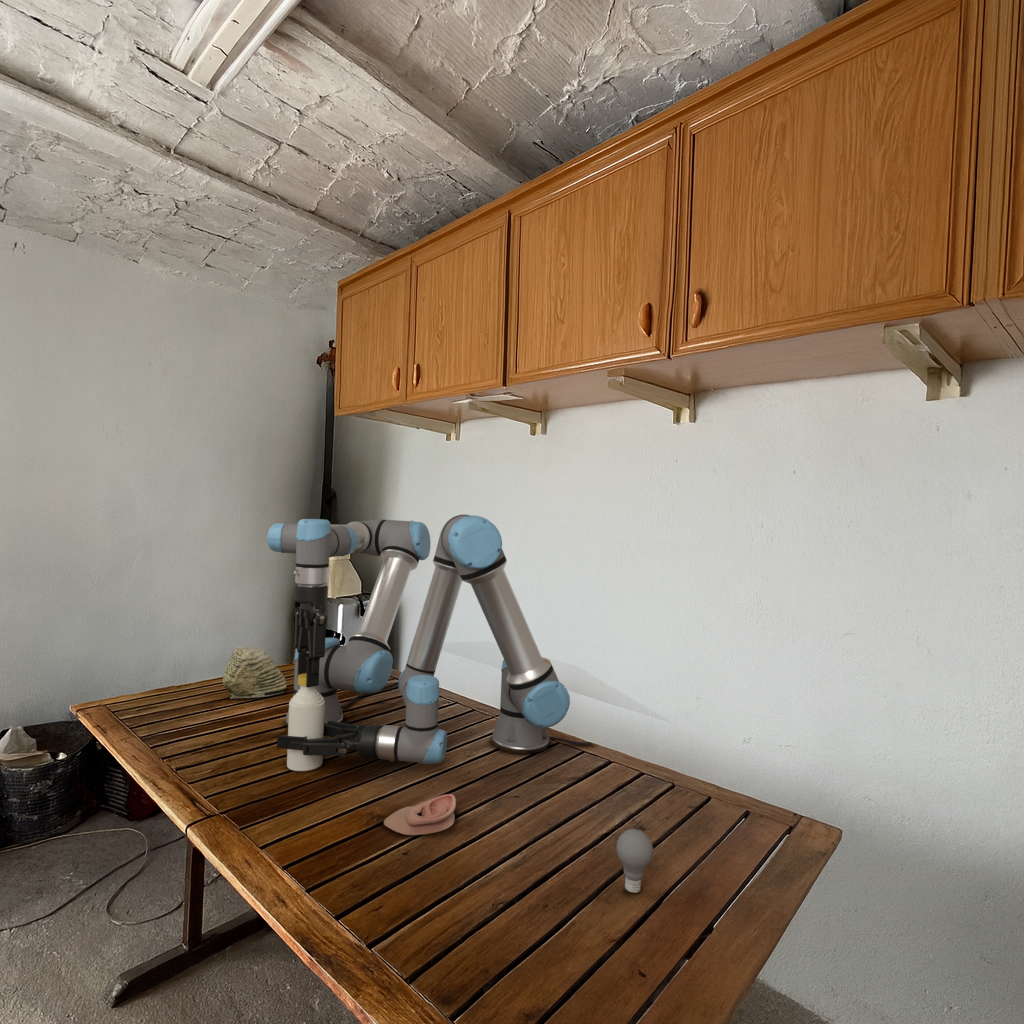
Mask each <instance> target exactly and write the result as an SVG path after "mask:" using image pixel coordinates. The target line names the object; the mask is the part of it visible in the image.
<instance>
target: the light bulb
mask: <svg viewBox="0 0 1024 1024" xmlns="http://www.w3.org/2000/svg"><path fill="white" fill-rule="evenodd" d="M615 849H616V854H617V857H618V859H619V861H620V863H621V865H622V867H623V873H624V874H623V875H624V876H625V878H624V888H625V890H627V891H628V892H630V893H634V894H635V893H639V892H640V891H641V889H642V887H641V886H642V879H643V877H644V875H645V871H646V868H647V867H648V866H649V864H650V863H651V861H652V859H653V855H654V847H653V843H652V841H651V838H649V836H648V835H647V834H646V833H645V832H643V831H642V830H641V829H636V828H629V829H627V830H625V831H623V832H622V833H621V834H620V835H619V837H618V839H617V841H616V847H615Z"/></svg>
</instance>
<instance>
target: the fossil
mask: <svg viewBox="0 0 1024 1024" xmlns="http://www.w3.org/2000/svg"><path fill="white" fill-rule="evenodd" d="M222 676H223V677H222V685H223V687H224V688H225V690H226V691H228V693H229V698H230V699H250V698H264V697H271V696H275V695H281V694H284V693H285V691H286V689H287V687H288V686H287V680H286V678H285V676H284V674H283V673H282V672H281V669H279V668H278V667H277V665H276V663H275V662H274V660H273V659H272V658H271V657H270V656H269V655H268V654H267V653H266V652H265V650H264V649H263V648H260V647H258V648H251V647H247V646H246V647H245V646H238V647H237V648H236V649H235V650H233V651H232V653H231V656H230V657H229V659H228V660H227V663H226V666H225V668H224V671H223V675H222Z"/></svg>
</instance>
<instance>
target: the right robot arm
mask: <svg viewBox="0 0 1024 1024" xmlns="http://www.w3.org/2000/svg"><path fill="white" fill-rule="evenodd" d="M502 538H503V537H502V535H501V533H500V531H499V529H498V527H497V526H496V525H495V524H494V523H493V522H492V521H491V520H489V519H488V518H486V517H484V516H480V515H474V514H473V515H470V514H458V515H455V516H452V517H451V518H449V519H448V520H447V521H446V522H445V524H443V526H442V528H441V530H440V532H439V536H438V541H437V545H436V548H435V552H434V555H433V559H432V563H433V565H434V570H433V572H432V573H433V574H432V577H431V580H430V584H429V587H428V590H427V594H426V597H425V600H424V603H423V607H422V610H421V613H420V617H419V620H418V624H417V626H416V629H415V632H414V633H415V634H414V637H413V640H412V644H411V647H410V651H409V652H408V653H409V654H408V656H407V659H406V664H405V666H404V669H403V671H402V672H400V675H399V677H398V681H397V682H398V685H397V686H398V692H399V693H400V694H401V697H402V699H403V702H404V705H405V722H404V725H405V726H400V725H388V724H384V725H383V726H382V725H381V724H371V723H367V724H356V723H355V724H354V723H348V722H335V721H328V722H327V723H324V737H323V738H318V739H307V736H305V737H296V736H288V735H280V734H278V735H277V736H276V737H277V739H276V748H277V749H283V750H284V749H285V750H287V749H295V750H303V755H323V757H324V756H325V757H326V756H329V757H331V756H334V757H343V758H346V757H347V756H348V753H349V752H359V755H360V757H361V758H362V759H369V760H376V759H379V760H384V761H389V762H390V763H393V762H394V761H396V762H408V763H419V764H423V765H425V764H427V765H431V764H433V765H435V764H441V763H442V762H443V761H444V759H445V757H446V754H447V749H448V734H447V733H448V732H447V731H446V730H444V729H442V728H439V707H440V696H441V692H440V680H439V679H438V678H437V677H435V673H436V670H437V666H438V662H439V659H440V657H441V654H442V649H443V646H444V643H445V640H446V636H447V634H448V629H449V627H450V623H451V619H452V616H453V612H454V611H455V610H454V609H455V606H456V603H457V600H458V597H459V593H460V590H461V586H462V583H467V584H470V586H471V588H472V590H473V593H474V595H475V597H476V599H477V602H478V603H479V606H480V609H481V612H482V613H483V615H484V617H485V620H486V623H487V624H488V626H489V629H490V632H491V634H492V635H493V638H494V640H495V643H496V645H497V647H498V650H499V652H500V654H501V656H502V658H503V660H502V664H501V669H500V670H501V671H500V672H501V679H500V681H501V682H500V706H499V715H498V717H497V720H496V723H495V726H494V728H493V731H492V734H491V744H492V745H493V746H494V747H495V748H496V749H498V750H500V751H503V752H506V753H509V754H516V755H531V754H532V755H533V754H537V753H542V752H544V751H546V750H547V749H548V748H549V747H550V740H552V741H557V742H562V743H566V744H571V745H577V746H592V744H593V743H592V742H591V741H574V740H569V739H566V738H562V737H557V736H551V735H550V733H549V730H548V728H551V727H554V726H556V725H558V724H559V723H560V722H562V720H563V719H564V718H565V717H566V716H567V713H568V712H569V709H570V705H571V697H570V693H569V691H568V689H567V687H566V686H565V685H564V684H563V682H561V681H560V680H559V678H558V676H557V673H556V671H555V669H554V666H553V665H552V662H551V660H550V659H549V658H546V657H543V656H542V655H541V652H540V650H539V648H538V645H537V643H536V641H535V639H534V636H533V634H532V631H531V629H530V626H529V624H528V622H527V619H526V617H525V615H524V613H523V611H522V608H521V606H520V603H519V601H518V599H517V597H516V594H515V592H514V589H513V587H512V585H511V583H510V580H509V578H508V576H507V574H506V571H505V569H506V568H505V567H506V565H507V562H508V560H507V557H506V555H505V552H504V550H503V540H502Z"/></svg>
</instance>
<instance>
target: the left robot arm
mask: <svg viewBox="0 0 1024 1024" xmlns="http://www.w3.org/2000/svg"><path fill="white" fill-rule="evenodd" d="M266 536H267V539H266V542H267V546H268V547H269V550H271V551H273V552H276V553H281V554H295V570H294V571H293V575H294V583H295V584H296V585H295V586H294V591H293V592H294V594H293V600H294V602H296V603H299V604H300V605H299V606H298V607H294V641H293V644H294V645H293V648H294V649H295V652H294V653H295V654H294V659H293V660H294V672H293V696H294V695H296V693H297V692H298V690H300V685H298V675H300V674H303V673H307V675H306V687H313V686H315V689H317V691H318V692H319V694H321V696H323V698H324V700H325V711H324V723H327V722H328V721H335V722H342V723H344V714H343V709H345V708H347V707H349V706H351V704H352V703H353V702H355V701H357V700H359V699H360V698H362V697H365V696H367V695H370V694H376V693H379V692H380V691H381V690H385V689H388V688H389V689H390V688H392V687H394V686H399V685H398V681H397V682H394V683H391V684H388V682H389V680H390V677H391V675H392V672H393V668H394V667H393V664H394V658H393V655H392V653H391V652H390V651H391V647H390V645H389V644H388V640H389V637H390V635H391V631H392V628H393V625H394V623H395V619H396V616H397V613H398V610H399V607H400V603H401V601H402V598H403V594H404V591H405V589H406V586H407V583H408V580H409V576H410V574H411V572H412V571H415V570H416V569H417V568H418V565H419V562H420V561H425V560H427V559H428V557H429V556H430V554H431V553H430V552H431V535H430V531H429V528H428V526H427V525H426V524H425V523H424V522H422V521H414V520H396V519H381V518H380V519H370V520H369V519H368V520H361V521H351V522H348V523H346V524H331V521H329V520H328V519H325V518H324V519H323V518H302V519H300V520H298V522H297V523H287V522H283V523H281V522H277V523H274V524H272V525H271V526H270V528H269V529H268V531H267V535H266ZM351 554H364V555H367V556H368V555H369V556H375V557H380V559H381V561H382V564H381V567H380V569H379V572H378V574H377V578H376V579H375V580H376V581H375V583H374V586H373V589H372V591H371V594H370V596H369V600H368V603H367V605H366V608H365V610H364V614H363V617H362V620H361V622H360V625H359V626H358V629H357V633H355V634H353V635H351V636H350V637H349V639H348V641H347V644H346V645H340V644H341V643H340V642H341V641H340V639H339V638H337V637H326V633H327V622H328V615H327V614H325V615H323V610H322V604H323V603H325V602H328V597H329V586H328V585H327V584H328V583H329V582H330V581H329V580H330V579H329V578H330V577H329V576H330V558H335V557H346V556H348V555H351ZM387 684H388V685H387ZM338 690H339V691H340V690H341V691H347V692H354V693H357V694H358V693H359V694H358V695H357V696H355V697H353V698H351V700H349V702H347V703H346V704H344V705H341V702H340V699H339V695H338ZM288 721H289V709H288V711H287V713H286V715H285V726H286V728H288Z"/></svg>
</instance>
